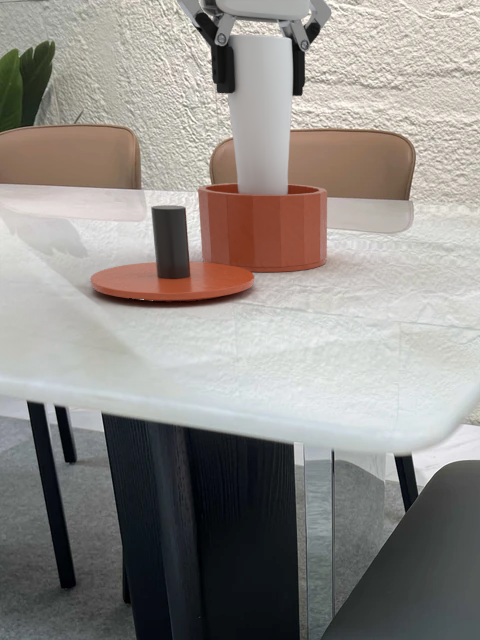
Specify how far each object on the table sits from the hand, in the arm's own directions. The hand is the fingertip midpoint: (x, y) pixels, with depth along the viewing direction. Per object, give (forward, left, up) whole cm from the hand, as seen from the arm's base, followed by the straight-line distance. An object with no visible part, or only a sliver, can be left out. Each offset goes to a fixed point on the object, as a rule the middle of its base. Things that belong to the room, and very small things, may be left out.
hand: (260, 92), depth 78 cm
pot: (0, 0, -17) cm, 17 cm away
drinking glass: (0, 0, -10) cm, 10 cm away
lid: (-14, -10, -16) cm, 23 cm away
